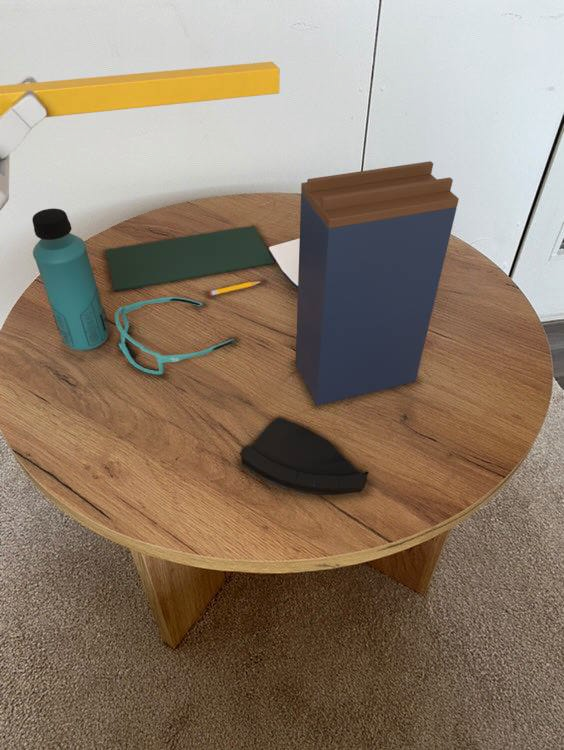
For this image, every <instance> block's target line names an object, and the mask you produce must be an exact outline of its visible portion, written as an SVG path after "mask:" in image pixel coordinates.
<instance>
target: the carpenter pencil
mask: <svg viewBox="0 0 564 750" xmlns="http://www.w3.org/2000/svg"><path fill="white" fill-rule="evenodd" d="M26 91H33V92H35V93H36V94H37V96H38V97H39V98H40V99H41V100H42V101H43V102H44V104H45V106H46V113H47V115H46V117H45V118H51V117H53V118H54V117H61V116H62V117H63V116H72V115H80V114H81V115H82V114H90V113H101V112H110V111H121V110H122V111H123V110H130V109H131V110H132V109H141V108H151V107H160V106H169V105H179V104H189V103H199V102H208V101H209V102H210V101H218V100H219V101H220V100H227V99H238V98H247V97H248V98H249V97H257V96H267V95H275V94H276V95H278V94H280V68H279V66H278V65H277V64H275V62H273V61H264V62H263V61H261V62H251V63H239V64H232V65H231V64H230V65H218V66H208V67H196V68H184V69H173V70H162V71H151V72H142V73H141V72H139V73H126V74H118V75H117V74H116V75H106V76H93V77H84V78H71V79H61V80H48V81H39V82H38V81H37V83H25V84H18V83H15V84H5V85H0V116H2V115H3V114H4V113H5V112H6V111H7V110H8V109H9V108H11V107H12V106H13V102H14V101H15V100H17V99H18V98H19V97H20V96H22V95H23V94H24V93H25V92H26Z"/></svg>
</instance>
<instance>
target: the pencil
mask: <svg viewBox="0 0 564 750" xmlns="http://www.w3.org/2000/svg"><path fill="white" fill-rule="evenodd" d="M260 283H261V281H248V282H244V283H243V282H242V283H239V284H235V285H230V286H227V287H222V288H218V289H213V290H209V291H208V295H209V297H212V296H216V295H217V296H218V295H221V294H226V293H231V292H234V291H239V290H242V289H247V288H250V287H253V286H257V285H258V284H260Z"/></svg>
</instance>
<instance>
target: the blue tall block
mask: <svg viewBox="0 0 564 750" xmlns="http://www.w3.org/2000/svg"><path fill="white" fill-rule="evenodd" d="M433 167H434V162H432V160H429V161H423V162H415V163H408V164H401V165H397V166H396V165H395V166H388V167H380V168H375V169H368V170H362V171H355V172H347V173H340V174H333V175H327V176H319V177H313V178H307V179H306V180H307V181H306V182H301V184H300V214H299V238H300V242H299V273H298V288H297V303H296V306H297V307H296V308H297V309H296V335H295V336H296V337H295V339H296V340H295V367H296V368H297V371H298V373H299V375H300V377H301V379H302V380H303V382H304V385H305V386H306V389H307V390H308V392H309V395H310V396H311V398H312V400H313V402H314V404H315V406H321V405H325V404H329V403H333V402H338V401H341V400H346V399H350V398H354V397H359V396H362V395H363V396H364V395H366V394H371V393H375V392H379V391H384V390H387V389H392V388H395V387H399V386H404V385H408V384H412V383H416V381H417V377H418V373H419V369H420V364H421V360H422V357H423V356H422V355H423V352H424V349H425V343H426V339H427V336H428V335H427V334H428V331H429V327H430V322H431V318H432V314H433V309H434V305H435V301H436V297H437V293H438V288H439V285H440V280H441V277H442V272H443V268H444V265H445V264H444V263H445V260H446V255H447V250H448V247H449V243H450V238H451V234H452V229H453V226H454V222H455V216H456V213H457V210H458V209H457V208H458V203H459V201H460V199H459V197H458V196H456V194H454V193H453V192H452V191H451V190H452V186H453V182H454V181H453V178H452V177H443V178H436V177H435V176H434V175H433V174H432V172H433V169H434V168H433Z"/></svg>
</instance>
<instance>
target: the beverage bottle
mask: <svg viewBox="0 0 564 750" xmlns="http://www.w3.org/2000/svg"><path fill="white" fill-rule="evenodd" d="M31 220H32V226H33V232H34V234H35V237H37V238H38V239H39V240H38V241H37V242H36V244H35V245H34V247H33V249H32V256H33V259H34V260H35V263H36V267H37V269H38V272H39V275H40V278H41V281H42V284H43V286H44V291H45V293H46V296H47V297H46V299H47V302H48V303H49V306H50V309H51V312H52V316H53V319H54V322H55V326H56V328H57V331H58V332H59V335H60V337H61V340H62V342H63V343H64V344H65V345H66V346H67V347H68V348H69V349H71V350H75V351H89V350H93V349H96V348H99V346H101V345H102V344H104V343H105V342H106V341H107V340H108V338H109V333H110V330H111V329H110V326H109V324H108V323H109V321H108V317H107V314H106V310H105V308H104V305H103V300H102V295H101V292H100V289H99V287H98V283H97V280H96V277H95V275H96V274H95V272H94V270H93V267H92V265H91V261H90V257H89V254H88V251H87V245H86V242H85V241H84V239H83V238H81V237H80V236H78V235H76V234H74V233H71V232H72V225H71V222H70V220H69V217H68V214H67V213H66V211H65V210H63V209H61V208H45V209H42V210H39V211H38V212H36V213H35V214H33V216H32V219H31Z"/></svg>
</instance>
